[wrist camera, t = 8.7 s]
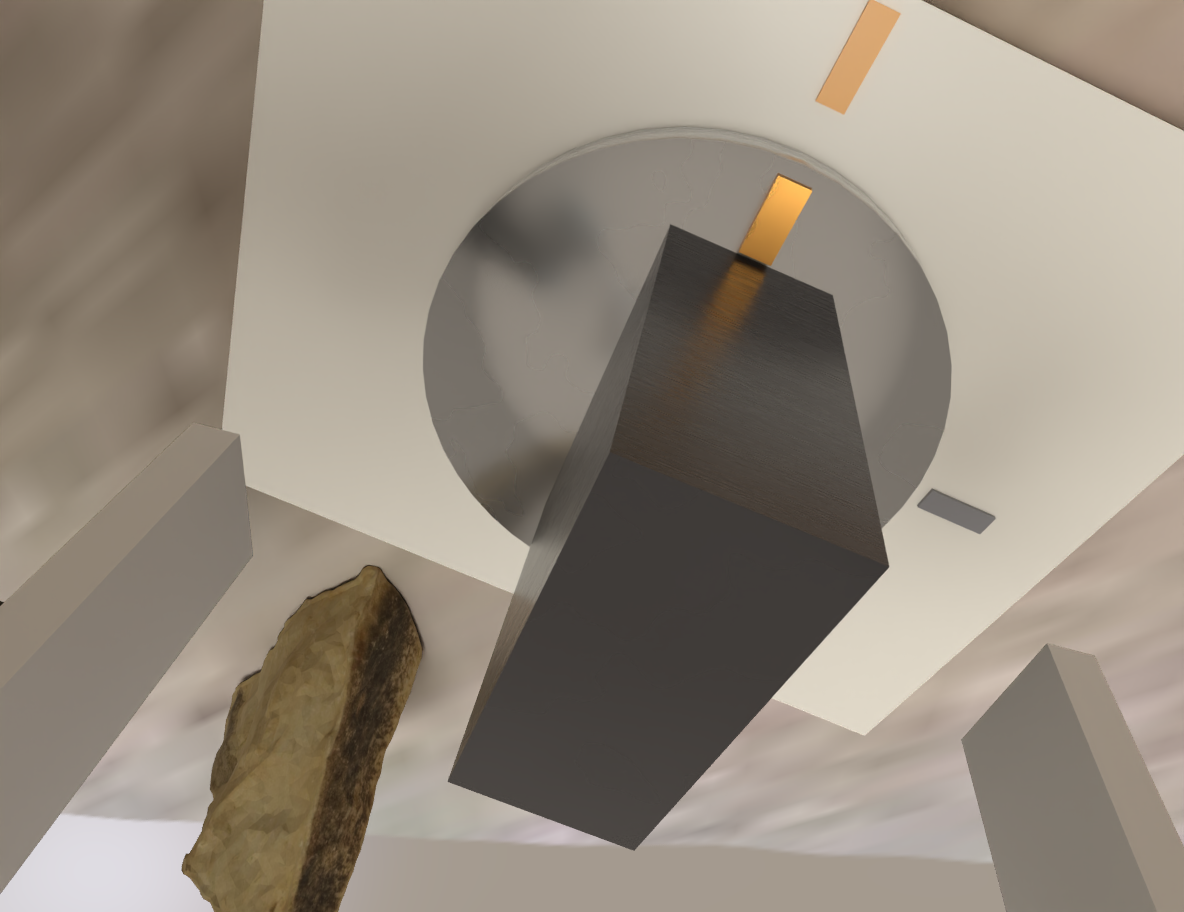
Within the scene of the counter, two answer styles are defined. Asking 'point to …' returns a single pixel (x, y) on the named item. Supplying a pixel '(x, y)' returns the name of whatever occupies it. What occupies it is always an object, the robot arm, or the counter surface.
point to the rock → (307, 753)
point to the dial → (674, 450)
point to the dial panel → (755, 107)
